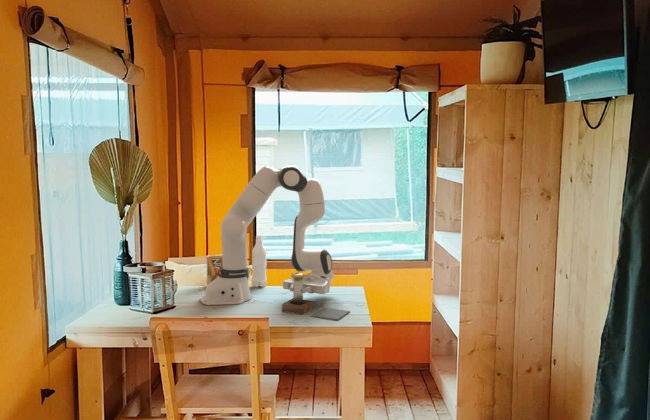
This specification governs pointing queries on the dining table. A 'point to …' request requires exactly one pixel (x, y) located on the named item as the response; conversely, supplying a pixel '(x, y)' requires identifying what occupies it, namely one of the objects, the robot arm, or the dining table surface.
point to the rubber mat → (330, 313)
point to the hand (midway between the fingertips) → (297, 290)
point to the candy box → (213, 267)
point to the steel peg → (297, 288)
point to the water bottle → (259, 263)
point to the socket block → (298, 307)
